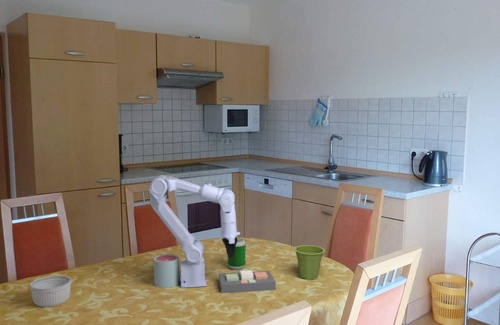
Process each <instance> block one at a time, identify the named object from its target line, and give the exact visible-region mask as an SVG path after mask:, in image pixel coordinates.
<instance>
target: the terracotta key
mask: <svg viewBox="0 0 500 325" xmlns="http://www.w3.org/2000/svg"><path fill="white" fill-rule="evenodd" d="M254 272H255V273H254V277H255V280H257V279H268V276H267V274H266V272H256V271H254Z"/></svg>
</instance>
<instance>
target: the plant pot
mask: <svg viewBox="0 0 500 325" xmlns="http://www.w3.org/2000/svg"><path fill="white" fill-rule="evenodd" d="M294 251H295V253H296V257H297V258H296V259H297V266H298V273H299V277H300V278H301V279H306V280H315V279H317V278H318V277H319V271H320V268H321V263H322V259H323V255H324V253H325V249H324V248H323V247H321V246H318V245H312V244H310V245H309V244H306V245H304V244H302V245H298V246H295V247H294Z"/></svg>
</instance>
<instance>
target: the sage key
mask: <svg viewBox="0 0 500 325" xmlns="http://www.w3.org/2000/svg"><path fill="white" fill-rule="evenodd" d="M226 281H239V277H238V274H226Z"/></svg>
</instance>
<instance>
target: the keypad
mask: <svg viewBox="0 0 500 325" xmlns="http://www.w3.org/2000/svg"><path fill="white" fill-rule="evenodd" d="M255 272H266V274H267V276H268V279H257V280H255V277H254V273H255ZM252 273H253V280H241V279H240V271H239V272H224V273H223V272H221V273H218V284H219V287H220V291H221V292H220V293H221V294H230V293H245V292H246V293H248V292H260V291H263V292H264V291H276V290H277V281H276V280H275V278H274V276H273V275H272V273H271V271H270V270H261V271H260V270H258V271H257V270H256V271H252ZM226 274H238V277H239V281H226Z"/></svg>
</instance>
